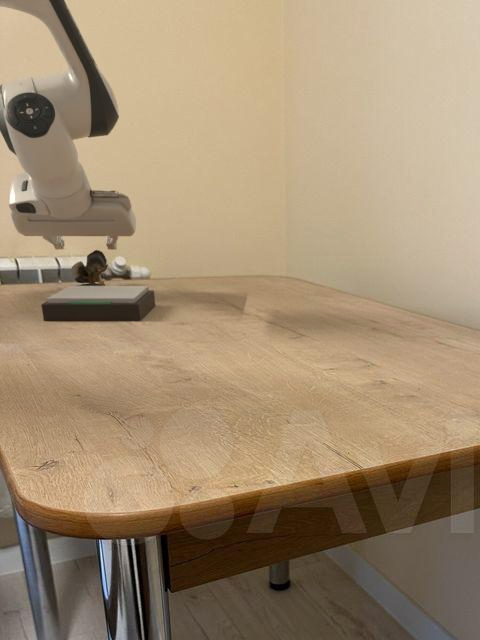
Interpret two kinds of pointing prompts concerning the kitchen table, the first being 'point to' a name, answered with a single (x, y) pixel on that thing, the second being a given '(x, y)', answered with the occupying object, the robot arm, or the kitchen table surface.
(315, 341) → the kitchen table surface
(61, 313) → the scale
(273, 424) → the kitchen table surface
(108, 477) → the kitchen table surface
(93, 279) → the eagle figurine
